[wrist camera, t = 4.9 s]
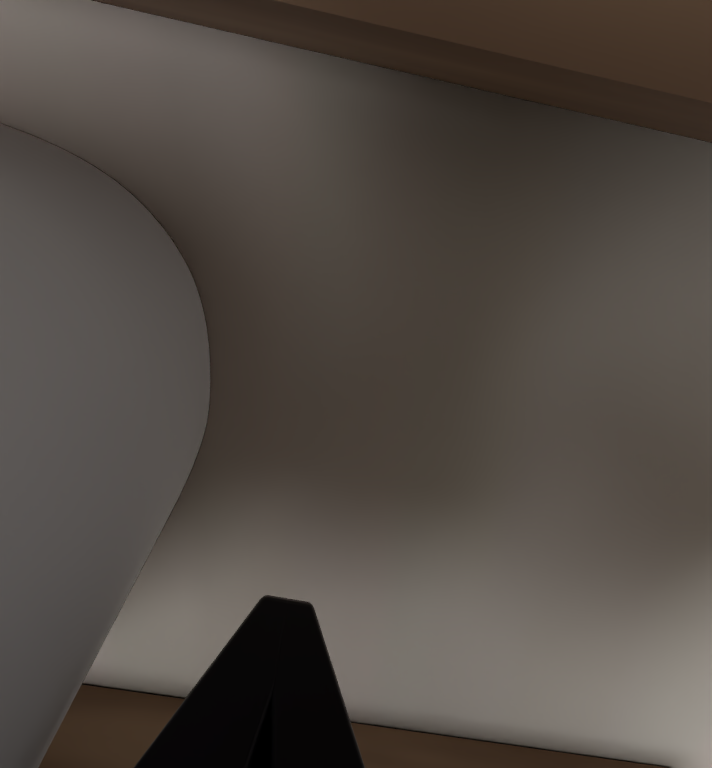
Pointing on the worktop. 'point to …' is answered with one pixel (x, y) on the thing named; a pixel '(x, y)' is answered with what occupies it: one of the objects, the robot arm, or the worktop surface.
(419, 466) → the worktop surface
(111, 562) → the lumpy-topped squat cylinder
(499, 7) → the guide rails
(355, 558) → the worktop surface
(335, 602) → the worktop surface
